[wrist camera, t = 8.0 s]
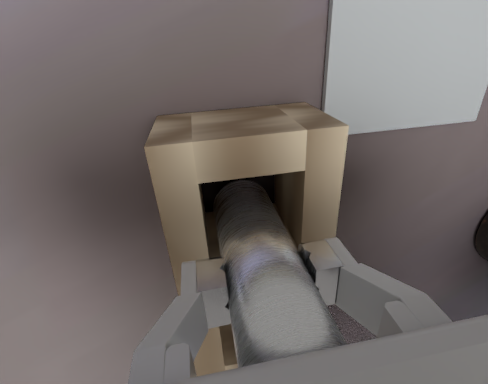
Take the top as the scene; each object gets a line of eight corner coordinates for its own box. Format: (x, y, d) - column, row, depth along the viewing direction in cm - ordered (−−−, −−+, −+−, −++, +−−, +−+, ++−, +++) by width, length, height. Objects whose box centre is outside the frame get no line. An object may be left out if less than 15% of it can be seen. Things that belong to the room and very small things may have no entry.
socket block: (304, 102, 16) (349, 125, 11) (295, 302, 23) (320, 362, 19) (157, 115, 15) (144, 147, 11) (197, 320, 22) (199, 388, 18)
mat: (521, -41, 14) (530, -43, 14) (470, 119, 18) (475, 120, 18) (332, -35, 13) (336, -37, 13) (319, 135, 17) (322, 137, 17)
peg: (268, 176, 15) (384, 367, 6) (269, 224, 16) (365, 436, 7) (210, 183, 14) (245, 398, 6) (216, 232, 16) (251, 465, 7)
